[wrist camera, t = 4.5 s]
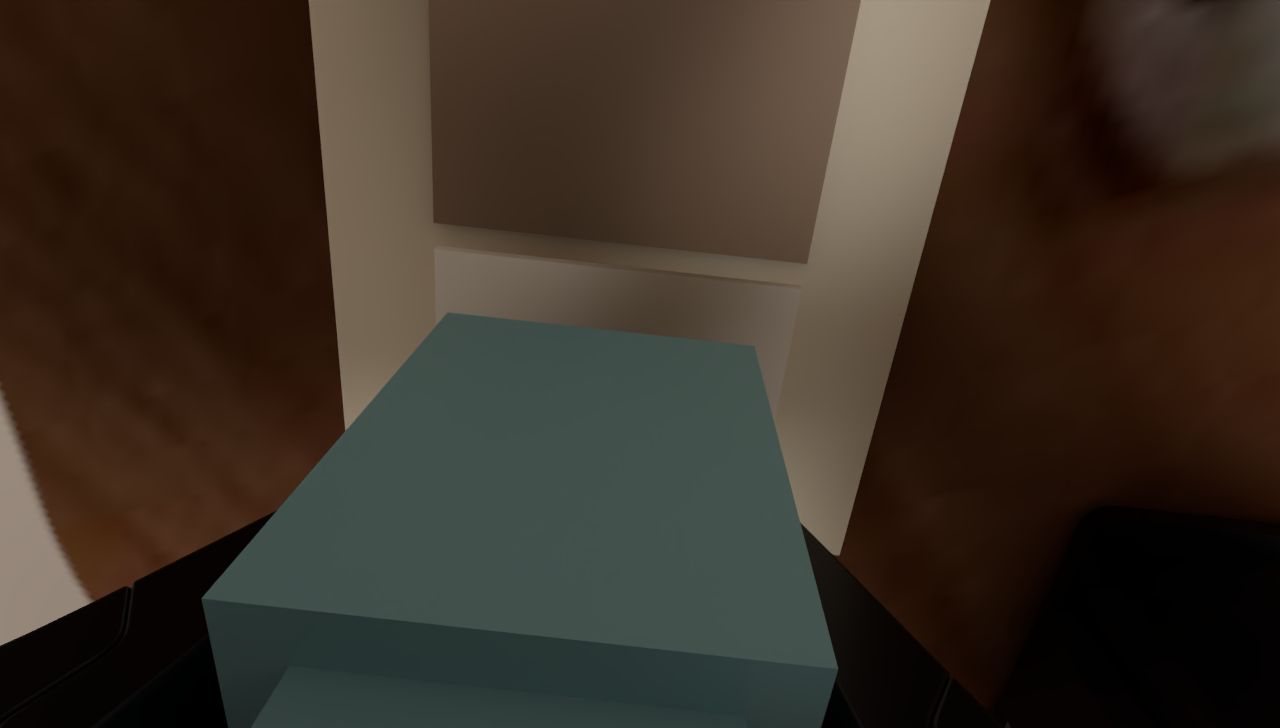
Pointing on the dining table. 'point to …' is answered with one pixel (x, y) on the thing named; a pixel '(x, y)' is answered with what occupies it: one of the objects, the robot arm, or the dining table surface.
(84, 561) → the dining table surface
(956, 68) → the game strip
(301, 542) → the teal rectangular block
